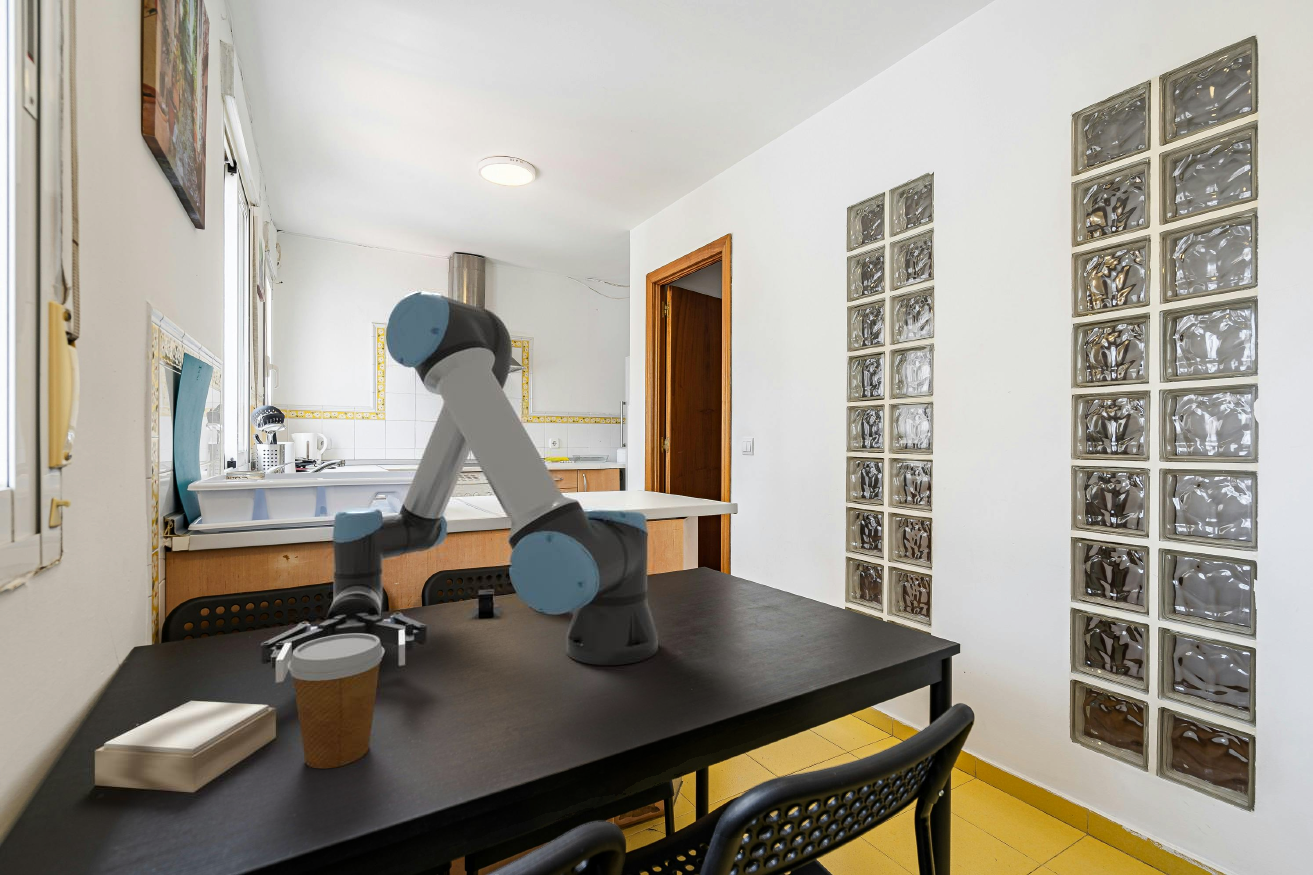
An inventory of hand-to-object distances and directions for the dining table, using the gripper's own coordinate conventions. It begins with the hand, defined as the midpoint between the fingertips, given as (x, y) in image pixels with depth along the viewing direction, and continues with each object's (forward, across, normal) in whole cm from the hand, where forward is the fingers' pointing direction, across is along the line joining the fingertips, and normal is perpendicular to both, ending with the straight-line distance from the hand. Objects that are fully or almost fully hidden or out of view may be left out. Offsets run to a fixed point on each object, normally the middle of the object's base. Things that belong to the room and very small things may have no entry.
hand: (342, 662), depth 76 cm
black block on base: (-41, -23, -8) cm, 47 cm away
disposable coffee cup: (+9, 0, -7) cm, 12 cm away
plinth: (+4, +14, -7) cm, 16 cm away
